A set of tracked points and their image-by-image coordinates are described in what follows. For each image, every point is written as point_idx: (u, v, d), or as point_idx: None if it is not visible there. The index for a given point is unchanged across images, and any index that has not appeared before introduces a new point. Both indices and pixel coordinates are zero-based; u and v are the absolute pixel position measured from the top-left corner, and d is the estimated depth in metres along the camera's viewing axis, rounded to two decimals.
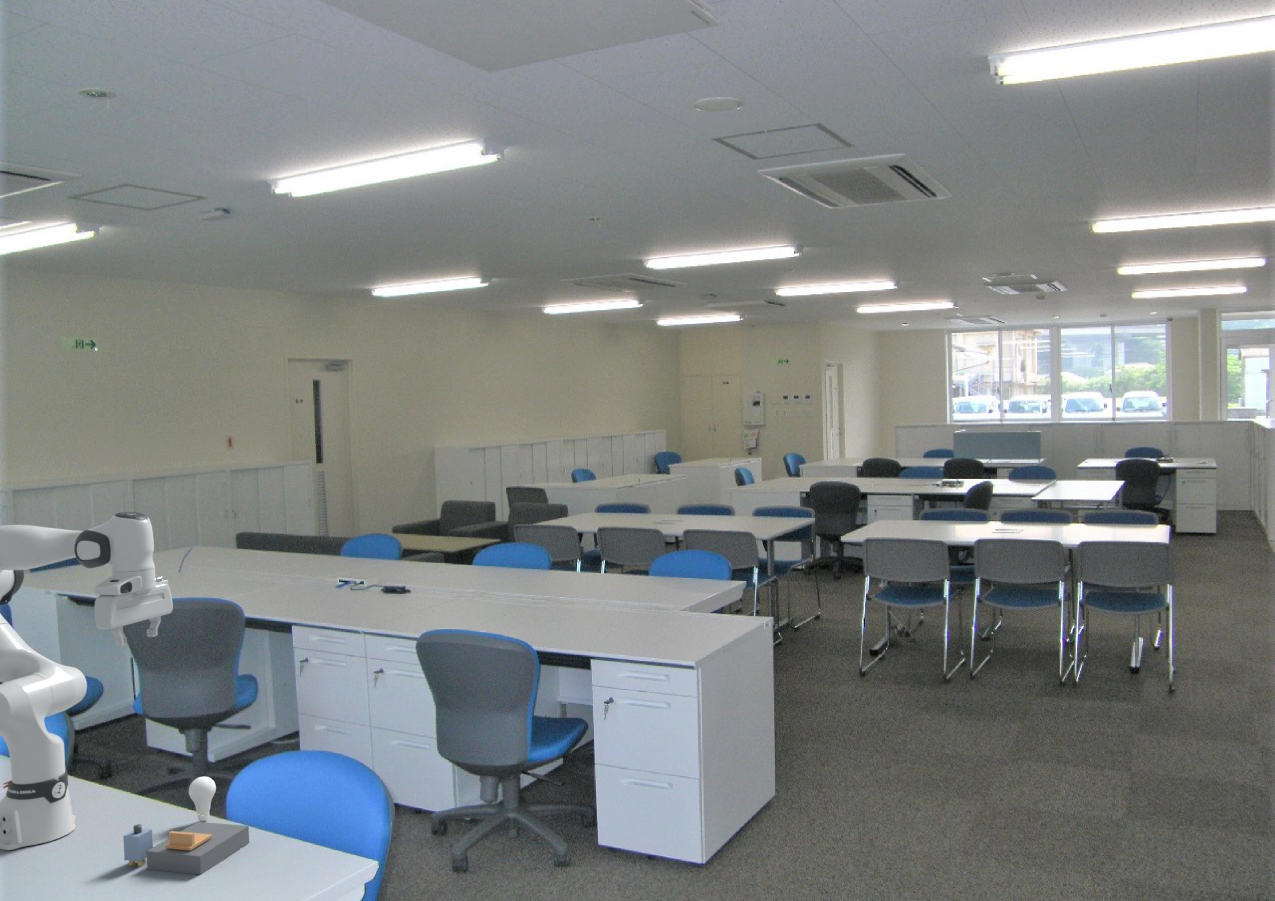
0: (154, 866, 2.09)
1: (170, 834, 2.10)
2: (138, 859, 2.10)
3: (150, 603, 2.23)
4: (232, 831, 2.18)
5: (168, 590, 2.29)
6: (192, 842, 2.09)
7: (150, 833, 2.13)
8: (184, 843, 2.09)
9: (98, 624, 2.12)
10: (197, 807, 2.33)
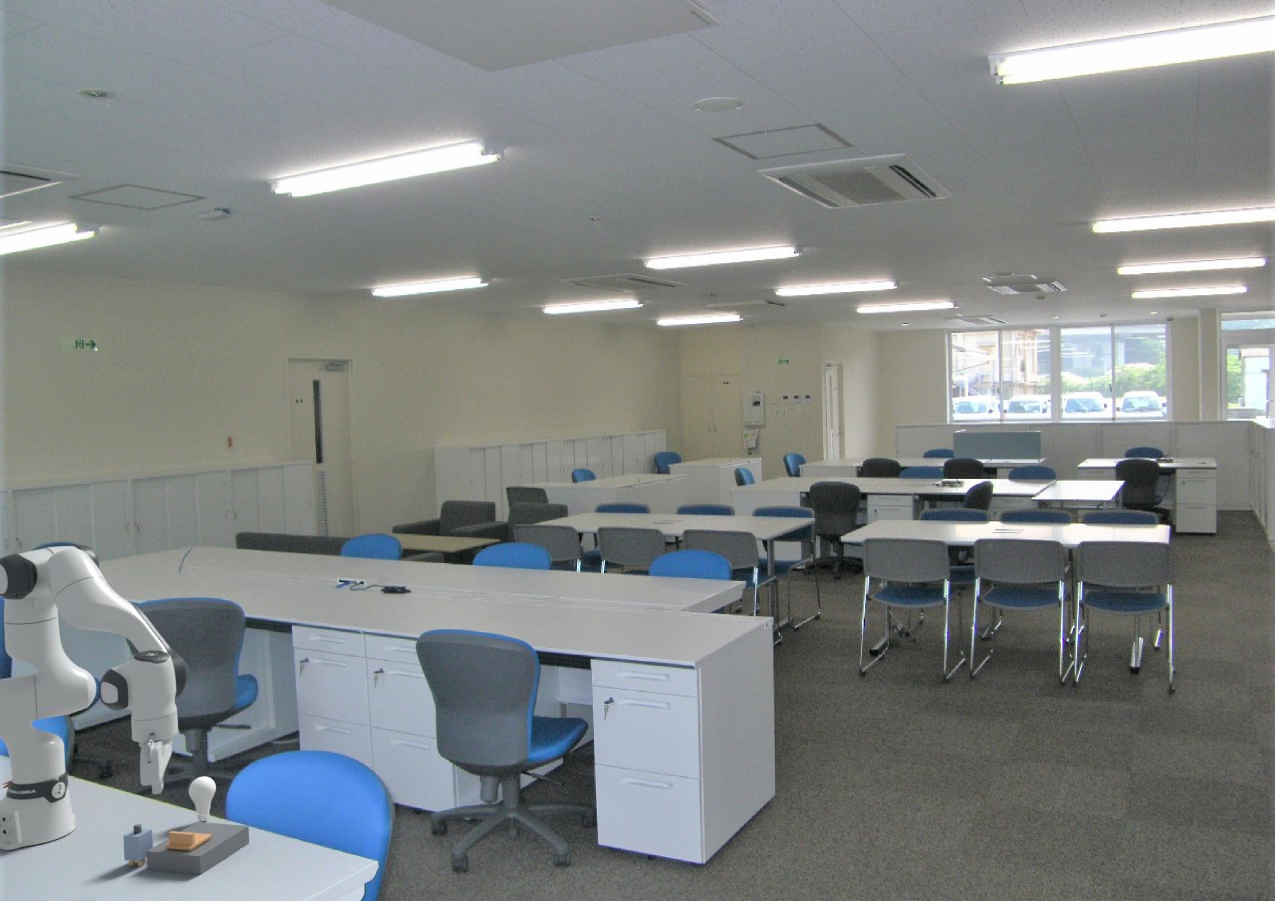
0: (154, 866, 2.09)
1: (170, 834, 2.10)
2: (138, 859, 2.10)
3: None
4: (232, 831, 2.18)
5: (140, 757, 1.95)
6: (192, 842, 2.09)
7: (150, 833, 2.13)
8: (184, 843, 2.09)
9: None
10: (197, 807, 2.33)
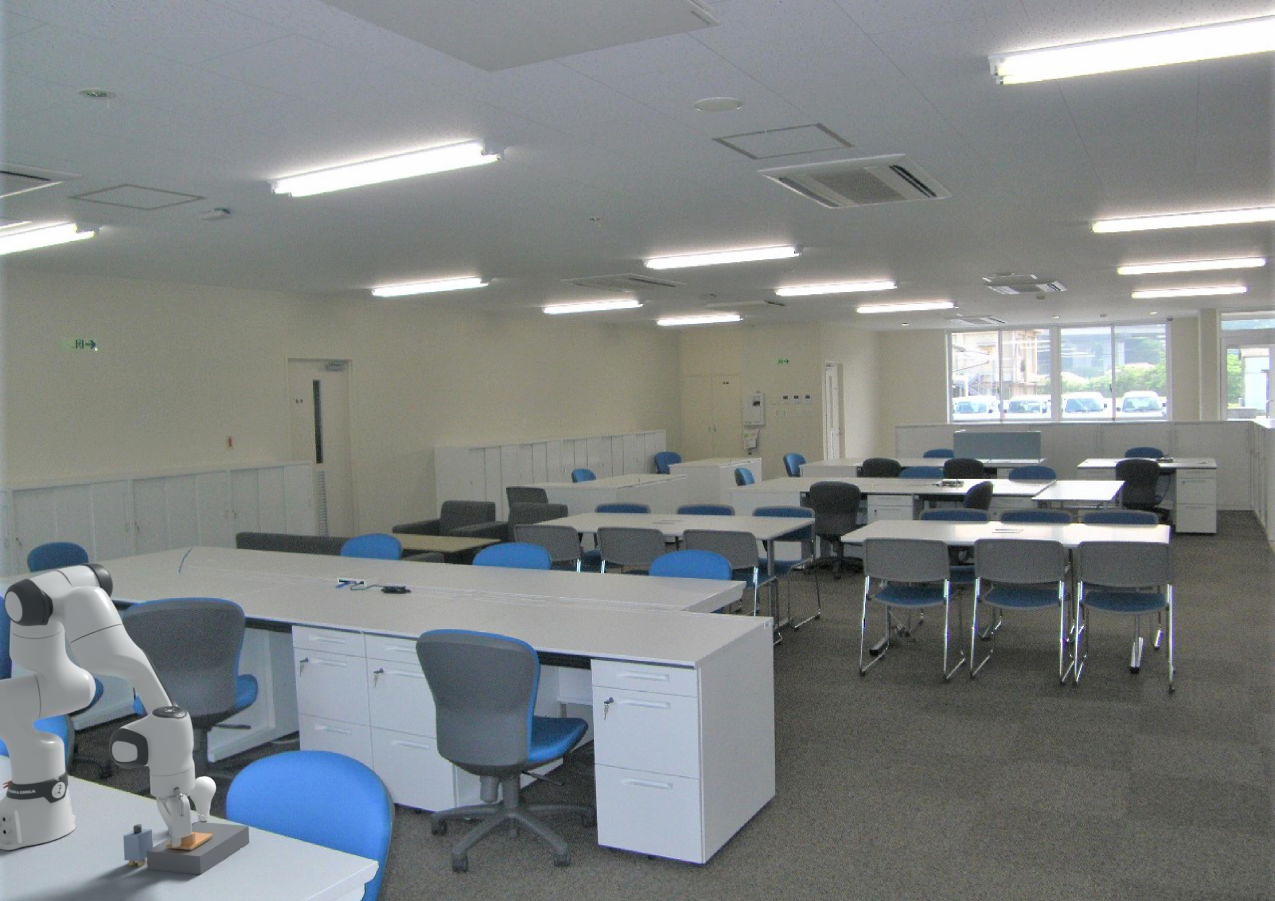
0: (154, 866, 2.09)
1: None
2: (138, 859, 2.10)
3: (167, 813, 2.05)
4: (232, 831, 2.18)
5: (171, 811, 2.00)
6: (193, 841, 2.09)
7: (150, 833, 2.13)
8: (185, 842, 2.09)
9: None
10: (197, 807, 2.33)
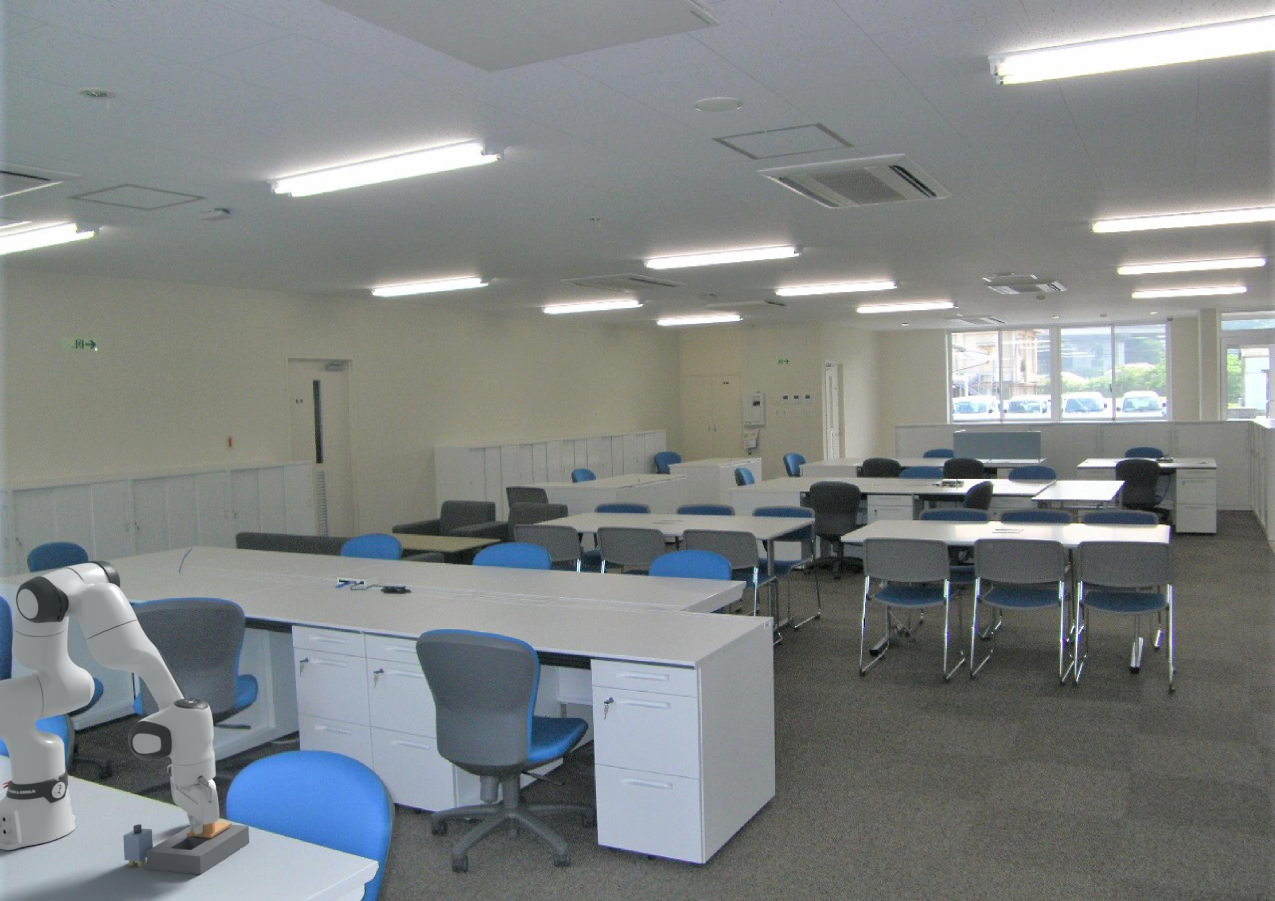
0: (154, 866, 2.09)
1: None
2: (138, 859, 2.10)
3: (190, 801, 2.11)
4: (232, 831, 2.18)
5: (199, 798, 2.07)
6: (212, 829, 2.15)
7: (150, 833, 2.13)
8: (205, 831, 2.16)
9: None
10: None
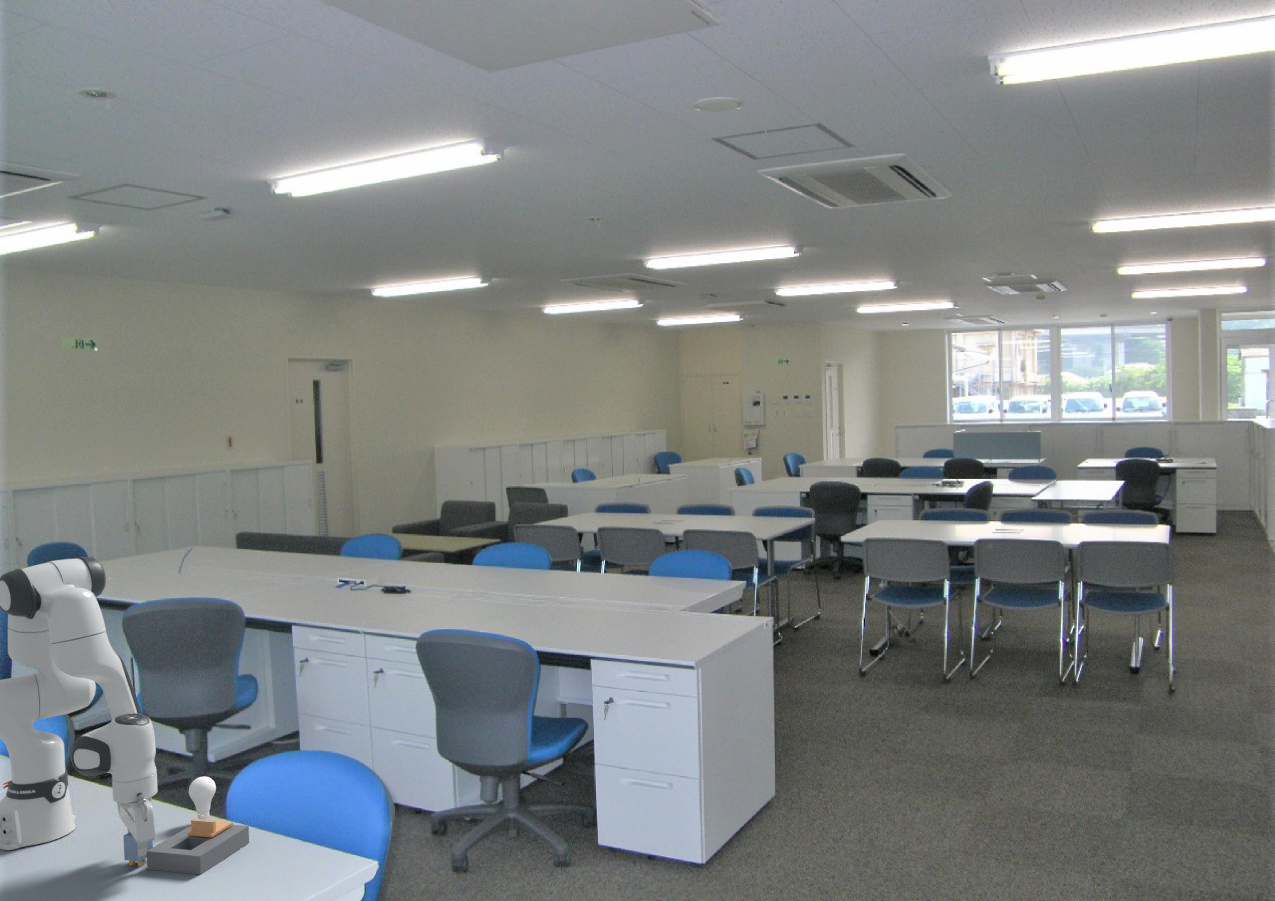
0: (154, 866, 2.09)
1: (192, 822, 2.17)
2: (138, 859, 2.10)
3: (130, 818, 2.08)
4: (232, 831, 2.18)
5: (135, 816, 2.04)
6: (213, 829, 2.15)
7: None
8: (206, 830, 2.16)
9: None
10: (197, 807, 2.33)
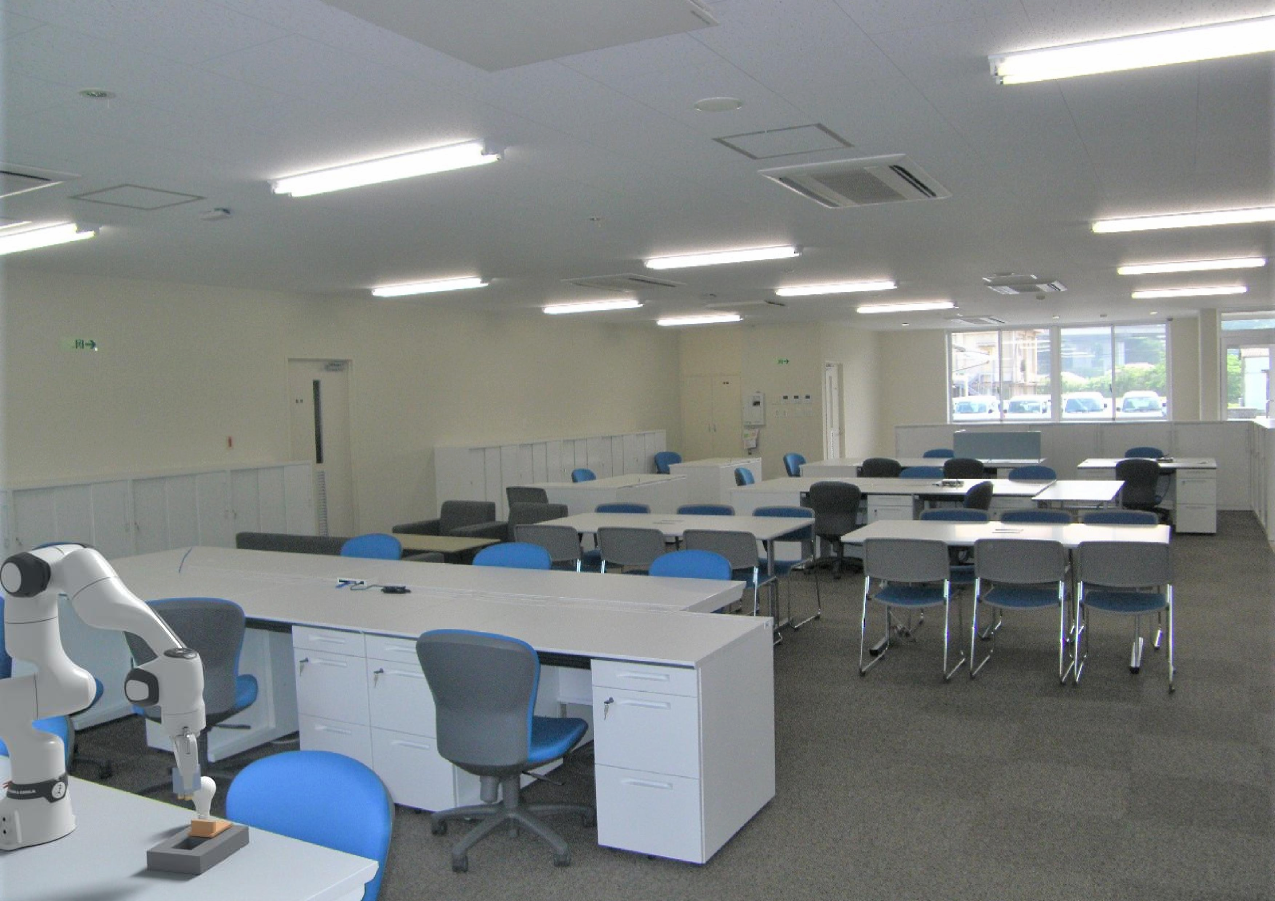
0: (154, 866, 2.09)
1: (192, 822, 2.17)
2: (185, 793, 2.09)
3: (177, 751, 2.08)
4: (232, 831, 2.18)
5: (178, 749, 2.03)
6: (213, 829, 2.15)
7: (198, 768, 2.12)
8: (206, 830, 2.16)
9: None
10: (197, 807, 2.33)
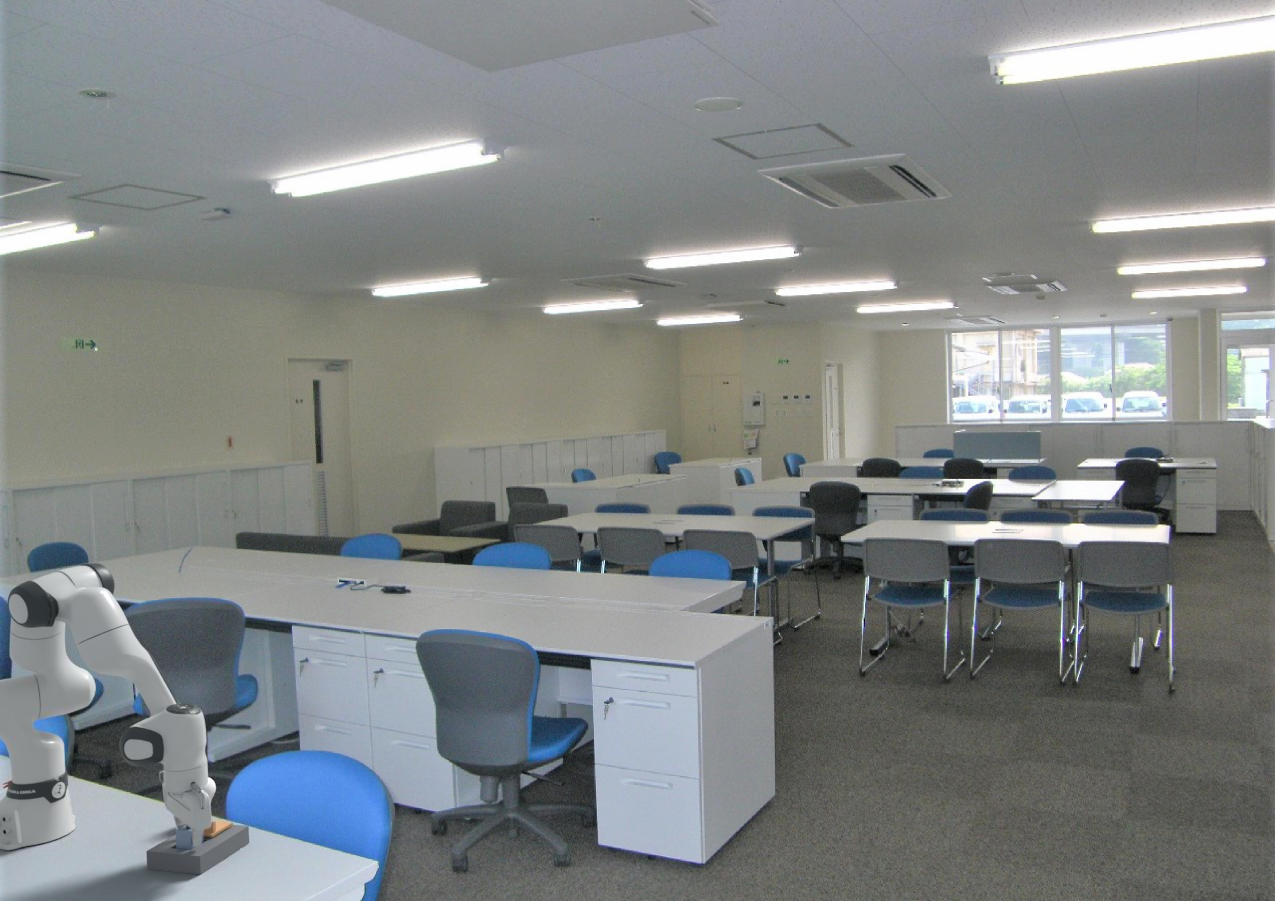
0: (154, 866, 2.09)
1: None
2: None
3: (183, 807, 2.09)
4: (232, 831, 2.18)
5: (191, 805, 2.04)
6: (213, 829, 2.15)
7: None
8: (206, 830, 2.16)
9: None
10: None
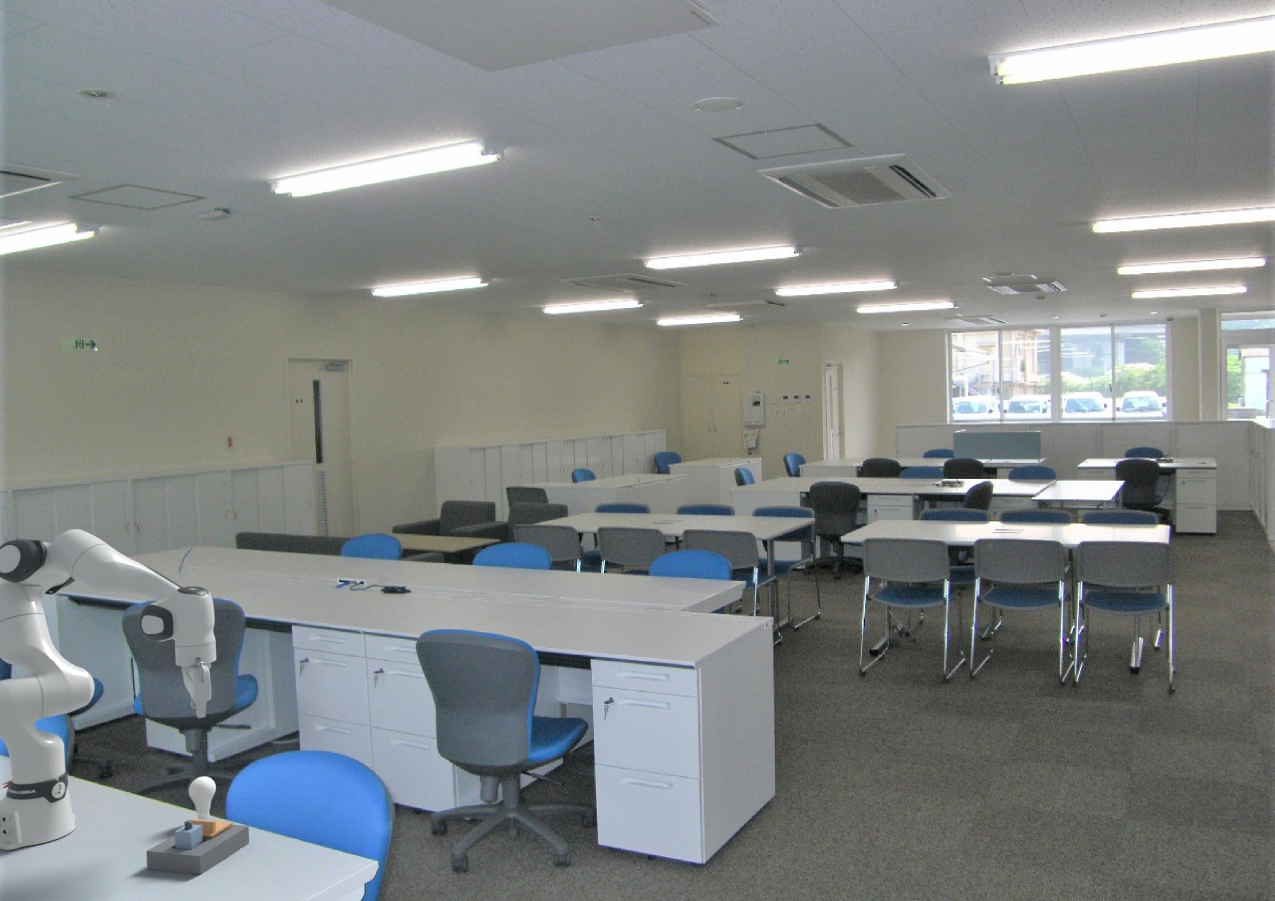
0: (154, 866, 2.09)
1: (192, 822, 2.17)
2: None
3: (190, 681, 2.24)
4: (232, 831, 2.18)
5: (193, 677, 2.19)
6: (213, 829, 2.15)
7: (200, 829, 2.13)
8: (206, 830, 2.16)
9: None
10: (197, 807, 2.33)
